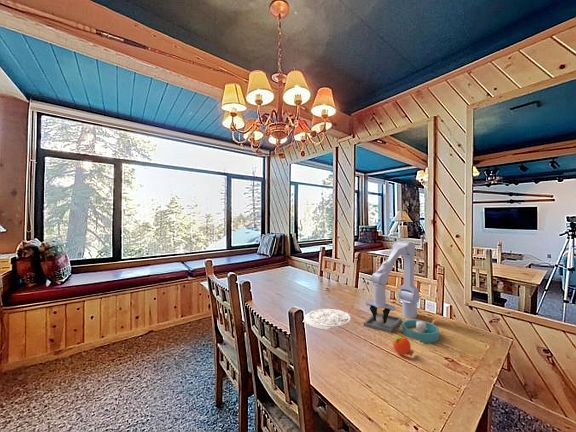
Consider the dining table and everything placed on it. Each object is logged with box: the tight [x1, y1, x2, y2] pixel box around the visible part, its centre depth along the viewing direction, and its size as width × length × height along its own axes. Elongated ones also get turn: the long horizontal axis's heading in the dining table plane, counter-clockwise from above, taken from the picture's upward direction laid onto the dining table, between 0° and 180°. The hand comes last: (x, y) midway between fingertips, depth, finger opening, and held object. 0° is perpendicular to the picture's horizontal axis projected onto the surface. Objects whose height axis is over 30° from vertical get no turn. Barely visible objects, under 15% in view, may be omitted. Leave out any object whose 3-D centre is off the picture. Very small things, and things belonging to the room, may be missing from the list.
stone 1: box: [376, 313, 385, 325], centre depth 135 cm, size 4×4×4 cm
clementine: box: [392, 335, 412, 355], centre depth 110 cm, size 8×7×7 cm
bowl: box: [401, 319, 440, 344], centre depth 126 cm, size 16×16×4 cm
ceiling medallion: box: [303, 308, 352, 331], centre depth 147 cm, size 28×28×3 cm
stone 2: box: [415, 320, 427, 333], centre depth 129 cm, size 4×4×4 cm
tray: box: [363, 312, 403, 334], centre depth 138 cm, size 18×14×2 cm
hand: (380, 321), depth 135 cm, fingers closed on stone 1, 4 cm apart
